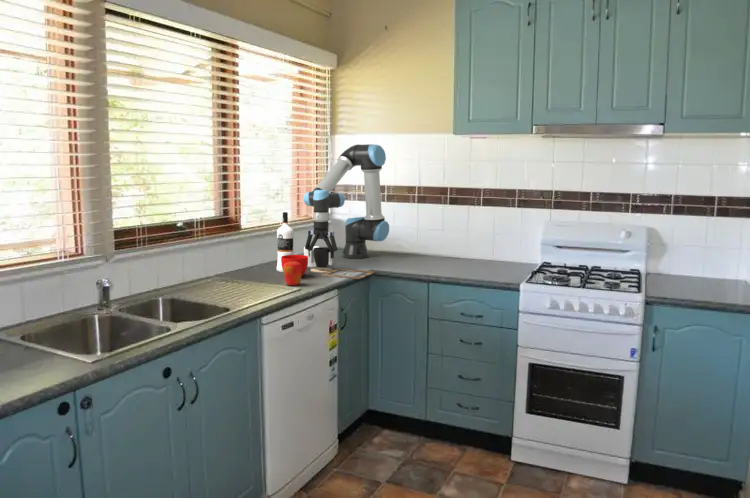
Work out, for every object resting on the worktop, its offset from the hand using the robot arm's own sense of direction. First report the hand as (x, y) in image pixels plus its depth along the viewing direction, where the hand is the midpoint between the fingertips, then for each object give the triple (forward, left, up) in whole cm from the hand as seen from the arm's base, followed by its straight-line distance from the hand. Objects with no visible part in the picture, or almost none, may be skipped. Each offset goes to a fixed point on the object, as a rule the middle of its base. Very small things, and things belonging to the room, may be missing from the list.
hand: (321, 264), depth 319 cm
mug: (0, 0, -1) cm, 2 cm away
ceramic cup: (+19, -3, -4) cm, 20 cm away
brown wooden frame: (+2, +17, -3) cm, 17 cm away
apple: (+37, +6, -4) cm, 38 cm away
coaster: (0, 0, -3) cm, 3 cm away
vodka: (+9, -15, -4) cm, 18 cm away
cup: (-12, -10, -4) cm, 16 cm away
